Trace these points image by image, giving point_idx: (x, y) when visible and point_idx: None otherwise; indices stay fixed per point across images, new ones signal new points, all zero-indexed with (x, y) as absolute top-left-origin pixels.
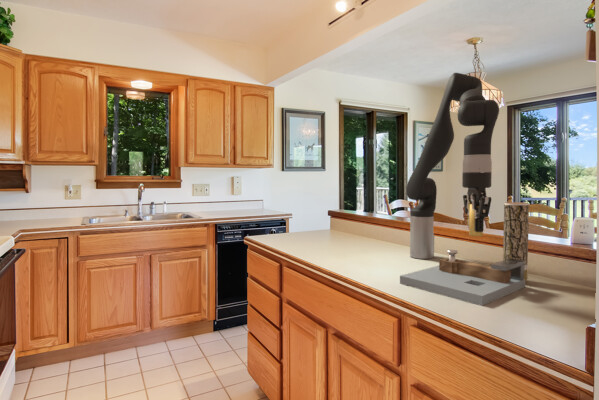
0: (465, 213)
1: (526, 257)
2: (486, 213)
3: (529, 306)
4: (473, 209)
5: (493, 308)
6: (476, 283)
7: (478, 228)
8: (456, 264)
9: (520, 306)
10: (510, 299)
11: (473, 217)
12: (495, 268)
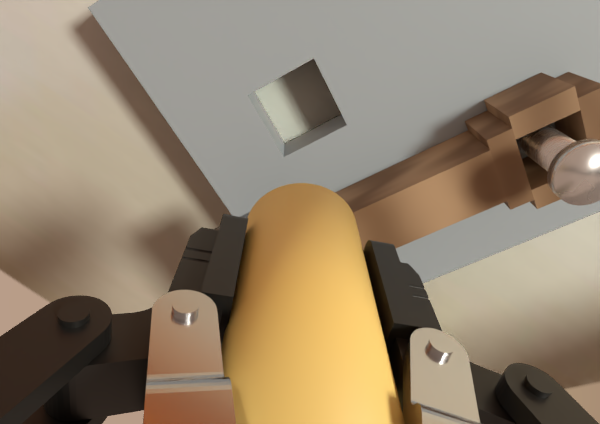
0: (536, 370)
1: None
2: (37, 411)
3: (101, 182)
4: (189, 382)
5: (72, 32)
6: (323, 133)
7: (191, 240)
8: (485, 135)
9: (100, 153)
10: (180, 172)
11: (257, 306)
12: (248, 214)
